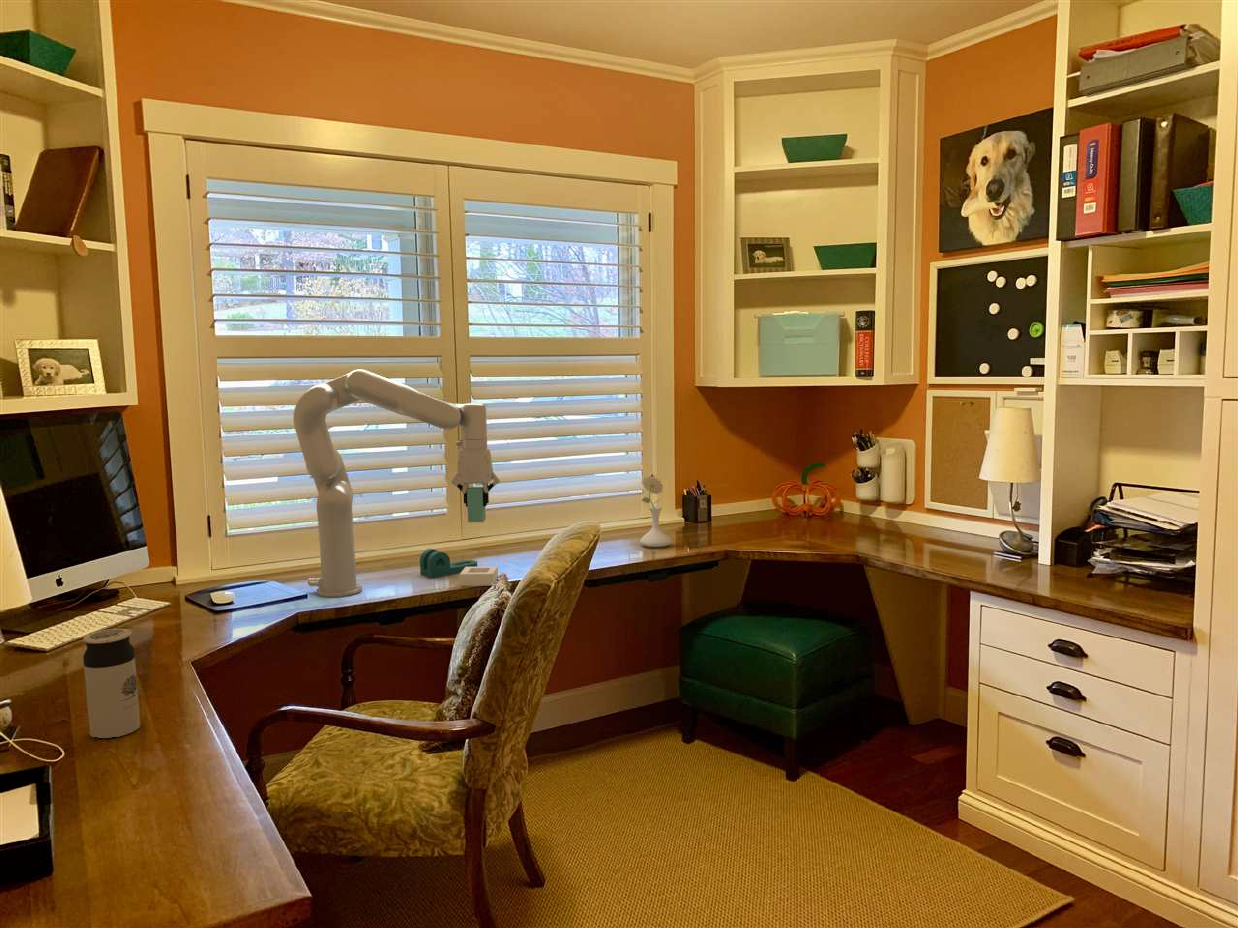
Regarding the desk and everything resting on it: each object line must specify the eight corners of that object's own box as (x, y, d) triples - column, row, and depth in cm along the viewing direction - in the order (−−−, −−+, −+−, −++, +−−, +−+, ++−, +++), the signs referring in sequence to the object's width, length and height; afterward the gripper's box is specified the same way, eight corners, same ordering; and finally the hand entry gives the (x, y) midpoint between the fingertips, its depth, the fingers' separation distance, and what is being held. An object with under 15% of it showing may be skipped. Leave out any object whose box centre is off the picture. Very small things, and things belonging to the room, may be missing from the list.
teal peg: (468, 522, 266) (466, 488, 265) (470, 519, 271) (469, 486, 270) (483, 522, 266) (482, 488, 265) (485, 519, 271) (484, 486, 270)
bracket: (431, 578, 276) (430, 553, 275) (420, 575, 281) (419, 550, 280) (481, 569, 288) (480, 545, 287) (470, 566, 293) (469, 542, 292)
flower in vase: (678, 546, 316) (677, 476, 314) (652, 550, 310) (651, 479, 307) (656, 541, 327) (655, 472, 324) (630, 545, 321) (629, 475, 318)
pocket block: (459, 585, 266) (459, 574, 265) (465, 577, 276) (465, 566, 275) (493, 585, 266) (493, 573, 265) (498, 577, 275) (497, 566, 275)
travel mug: (79, 736, 161) (70, 638, 159) (118, 720, 168) (110, 626, 166) (112, 742, 158) (103, 643, 156) (150, 725, 165) (142, 630, 163)
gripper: (443, 446, 262) (445, 508, 264) (501, 445, 262) (503, 507, 264) (448, 444, 270) (450, 504, 272) (504, 443, 270) (506, 503, 272)
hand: (476, 505), depth 268 cm, fingers closed on teal peg, 4 cm apart
